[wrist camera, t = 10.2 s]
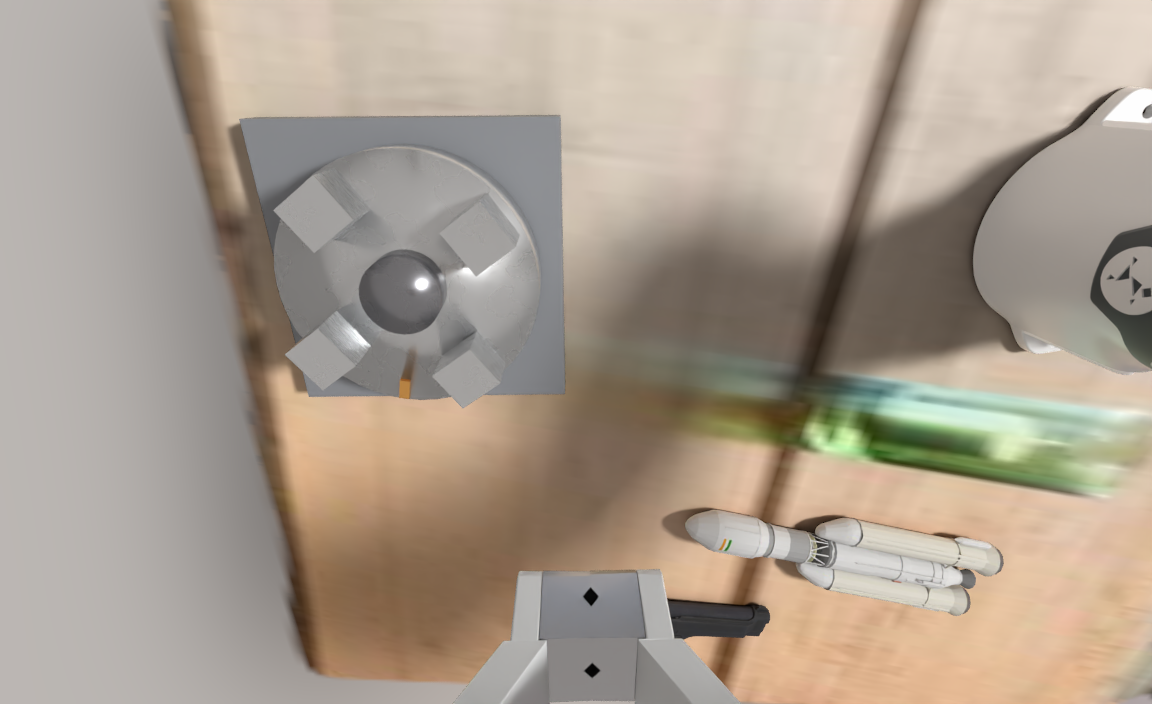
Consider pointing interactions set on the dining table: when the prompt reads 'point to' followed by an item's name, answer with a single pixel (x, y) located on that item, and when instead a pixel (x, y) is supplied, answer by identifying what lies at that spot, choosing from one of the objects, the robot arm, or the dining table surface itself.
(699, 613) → the handgun
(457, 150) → the flat gray base plate
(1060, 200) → the robot arm
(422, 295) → the domed disc mount
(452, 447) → the dining table surface
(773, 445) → the dining table surface
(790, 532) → the rocket model
